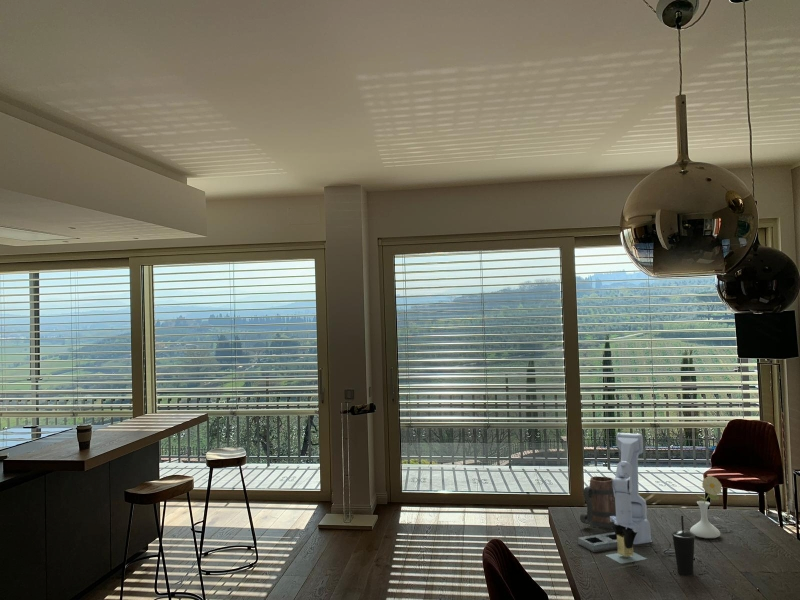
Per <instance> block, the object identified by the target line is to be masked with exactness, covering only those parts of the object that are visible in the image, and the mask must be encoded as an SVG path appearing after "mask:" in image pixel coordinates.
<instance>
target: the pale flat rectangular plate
mask: <svg viewBox="0 0 800 600" xmlns="http://www.w3.org/2000/svg"><path fill="white" fill-rule="evenodd" d="M605 556H606V557H607V558H609V559H611V560H613V561H614V562H617V563H619V564H621V565H623V564H627V563H633V562H639V561H645V560H648V558H647V557H644V556H642V555H640V554H639V553H636V552H634V551H633V556H627V557H624V556H622V555H620V554H618V552H617V553H616V552H615V553H609V554H605Z"/></svg>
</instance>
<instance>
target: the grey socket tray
mask: <svg viewBox="0 0 800 600" xmlns="http://www.w3.org/2000/svg"><path fill="white" fill-rule="evenodd" d="M577 544H578V545H580V546H582V547H583V548H584V549H586V550H589V551H590V552H593V553H597V552H599V553H600V552H603V551H609V550H615V549H618V548H617V537H616V534H615V532H614V531H613V532H611V531H610V532H605V533H598V534H591V535H585V536H579V537H577Z"/></svg>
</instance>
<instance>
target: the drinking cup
mask: <svg viewBox="0 0 800 600" xmlns="http://www.w3.org/2000/svg"><path fill="white" fill-rule="evenodd" d="M680 520H681V523H680V524H681V529H676V530H673V531H672V532H671V536H672V541H673V549H674V554H675V561H676V568H677V573H678V574H679V575H681V576H684V577H685V576H686V577H687V576H688V577H690V576H693V575H694V562H695V561H694V560H695V558H694V557H695V556H694V555H695V538H696V535H695V534H693V533H691V532H690V530H685V527H684V526H685V525H684V515H681V516H680Z"/></svg>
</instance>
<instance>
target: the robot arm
mask: <svg viewBox="0 0 800 600" xmlns="http://www.w3.org/2000/svg"><path fill="white" fill-rule="evenodd" d="M615 439H616V440H615V441H616V446H617V448H618V450H619V452H620V461H619V462H618V463H617V465H616V472H615V478H612V479H613V492H614V497H615V506H616V516H610V522H614V525H612V528H613V529H612V530H613V532H615V534H616V537H617V535H618V534H624V536H625V540H626V547H627V548H628V549H629V548H632V547H633V548H634V545H641V544H648V543H652V542H653V540H652V537H651V523H650V522H649V520H648V519H647V516H648V508H647V507H648V506H647V501H646V499H645V498H643V497H642V496H641V495H640V494H639V492H640V491H639V455H641V454H644V453H643V452H644V437H643V434H642V433H630V432H627V433H626V432H617V434H616V438H615Z"/></svg>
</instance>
